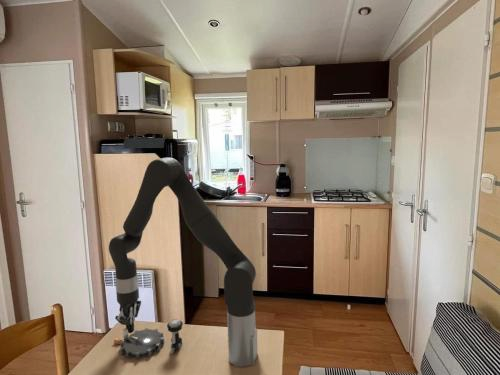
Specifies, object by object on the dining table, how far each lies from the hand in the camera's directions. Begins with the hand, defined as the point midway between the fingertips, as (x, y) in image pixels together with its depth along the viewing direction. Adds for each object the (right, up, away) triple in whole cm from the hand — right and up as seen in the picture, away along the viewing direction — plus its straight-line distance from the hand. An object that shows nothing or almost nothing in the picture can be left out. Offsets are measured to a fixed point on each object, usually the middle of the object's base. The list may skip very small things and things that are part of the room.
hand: (130, 331), depth 115 cm
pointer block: (-4, -4, -1) cm, 6 cm away
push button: (+18, -4, -5) cm, 19 cm away
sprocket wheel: (+6, -4, -3) cm, 7 cm away
